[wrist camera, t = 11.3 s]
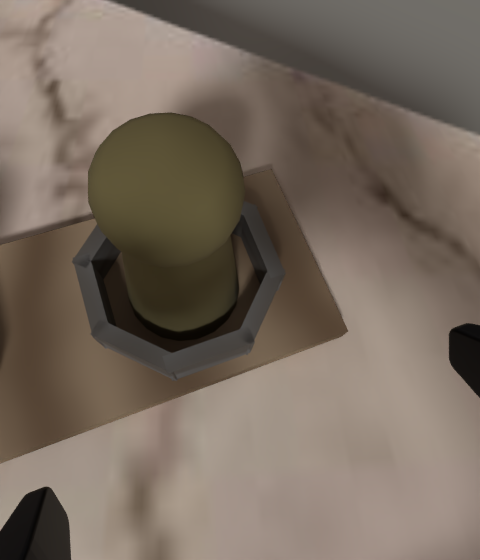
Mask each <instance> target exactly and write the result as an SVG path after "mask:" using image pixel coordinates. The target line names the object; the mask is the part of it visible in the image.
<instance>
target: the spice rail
mask: <svg viewBox="0 0 480 560" xmlns="http://www.w3.org/2000/svg"><path fill="white" fill-rule="evenodd" d="M243 179H244V185H245V197H244V202H243V207H242V211H241V216H240V221H239V222H238V224H237V225H236V227H235V228H234V230H233V232H232V233H231V235H230V236H231V242H232V247H233V253H234V258H235V264H236V270H237V276H238V283H239V294H238V299H237V304H236V307H235V308H234V310H233V312H232V313H231V315H230V317H229V319H228V320H227V321H226V322H225V323H224V324H223V325H222V326H220V327H219V328H218V329H217V330H216V331H215V332H213V333H210V334H208V335H206V336H204V337H201V338H199V339H194V340H185V341H177V340H172V339H167V338H162V337H160V336H158V335H157V334H155V333H153V332H151V331H150V330H148V329H146V328H145V326H144V325H143V324H142V323H141V322H140V321H139V320H138V319H137V317H136V316H135V314H134V312H133V309H132V307H131V304H130V302H129V298H128V291H127V284H126V277H125V271H124V264H123V257H122V252H121V251H120V250H119V249H117V248H116V247H115V246H114V245H113V244H112V243H111V242H110V240H109V239H108V238H107V237H106V236H105V235H104V234H103V233H102V232H101V230H100V228H99V226H98V224H97V223H96V220H95V219H91V220H88V221H84V222H80V223H77V224H73V225H70V226H66V227H63V228H59V229H55V230H52V231H48V232H45V233H41V234H38V235H34V236H30V237H27V238H23V239H20V240H16V241H12V242H9V243H5V244H2V245H0V463H3V462H5V461H8V460H11V459H13V458H16V457H19V456H21V455H24V454H27V453H30V452H32V451H35V450H38V449H40V448H43V447H46V446H48V445H51V444H54V443H56V442H59V441H62V440H64V439H67V438H70V437H73V436H75V435H78V434H81V433H83V432H86V431H89V430H91V429H94V428H97V427H99V426H102V425H105V424H107V423H110V422H113V421H116V420H118V419H121V418H124V417H126V416H129V415H132V414H134V413H137V412H140V411H142V410H145V409H148V408H150V407H153V406H156V405H159V404H161V403H164V402H167V401H169V400H172V399H175V398H177V397H180V396H183V395H185V394H188V393H191V392H193V391H196V390H199V389H202V388H204V387H207V386H210V385H212V384H215V383H218V382H220V381H223V380H226V379H228V378H231V377H234V376H236V375H239V374H242V373H245V372H247V371H250V370H253V369H255V368H258V367H261V366H263V365H266V364H269V363H271V362H274V361H277V360H279V359H282V358H285V357H288V356H290V355H293V354H296V353H298V352H301V351H304V350H306V349H309V348H312V347H314V346H317V345H320V344H322V343H325V342H328V341H330V340H333V339H336V338H339V337H341V336H343V335H344V334H345V333H346V332H348V330H347V327H346V325H345V323H344V321H343V319H342V317H341V315H340V313H339V311H338V308H337V306H336V304H335V302H334V300H333V298H332V296H331V294H330V292H329V289H328V287H327V285H326V283H325V281H324V279H323V277H322V275H321V273H320V270H319V268H318V266H317V264H316V262H315V260H314V258H313V256H312V254H311V251H310V249H309V247H308V245H307V243H306V241H305V239H304V237H303V235H302V232H301V230H300V228H299V226H298V224H297V222H296V220H295V218H294V215H293V213H292V211H291V209H290V207H289V205H288V203H287V201H286V199H285V196H284V194H283V192H282V190H281V188H280V186H279V184H278V182H277V180H276V177H275V175H274V173H273V171H272V169H270V170H266V171H263V172H259V173H256V174H252V175H249V176H245V177H243Z"/></svg>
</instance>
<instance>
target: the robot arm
mask: <svg viewBox="0 0 480 560" xmlns="http://www.w3.org/2000/svg"><path fill="white" fill-rule="evenodd" d="M449 360H450V363H451V365H452V367H453V368H454V369H455V371H456V372H457V373H458V374H459V375H460V376H461V377H462V378H463V380H464V381H465V382H466V383H467V384H468V385H469V386H470V387H471V389H472V390H473V391H474V392H475V393H476V394H477V395H478V396H479V398H480V325H475V324H470V323H466V324H463V325H460V326H457V327H455V328H453V329H451V331H450V333H449ZM0 560H71V549H70V530H69V520H68V517H67V514H66V512H65V510H64V508H63V507H62V505H61V503H60V502H59V500H58V498H57V497H56V495H55V493H54V492H53V490H52V489H51V488H50V487H43V488H40V489H38V490H35V491H32V492H30V493H28V494H26V495H25V496H24V497H23V499H22V500H21V502H20V503H19V504H18V506H17V507H16V509H15V510H14V512H13V513H12V515H11V516H10V518H9V519H8V520H7V522H6V523H5V525H4V526H3V528H2V529H1V531H0Z"/></svg>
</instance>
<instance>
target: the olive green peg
mask: <svg viewBox="0 0 480 560" xmlns="http://www.w3.org/2000/svg"><path fill="white" fill-rule="evenodd" d="M244 197H245V185H244V179H243V173H242V168H241V165H240V162H239V160H238V158H237V156H236V154H235V153H234V151H233V149H232V147H231V145H230V144H229V143H228V142H227V141H226V140H225V139H224V138H223V137H221V136H220V135H219V134H218V133H217V132H216V131H215V130H214V129H213V128H212V127H210V126H209V125H207V124H205V123H203V122H201V121H199V120H197V119H195V118H193V117H191V116H186V115H180V114H175V113H154V114H147V115H144V116H141V117H138V118H134V119H131V120H129V121H127V122H126V123H124V124H123V125H121V126H119V127H118V128H116V129H115V130H113V131H112V132H111V133H110V134H109V136H108V137H107V138H106V139H105V140H104V141H103V143H102V144H101V145H100V146H99V148H98V150H97V151H96V153H95V156H94V158H93V161H92V163H91V166H90V168H89V171H88V202H89V205H90V208H91V210H92V213H93V215H94V218H95V220H96V223H97V224H98V226H99V228H100V230H101V232H102V233H103V234H104V235H105V236H106V237H107V238H108V239H109V240H110V242H111V243H112V244H113V245H114V246H115V247H116V248H117V249H119V250H120V251H121V252H122V257H123V264H124V271H125V277H126V284H127V291H128V298H129V302H130V304H131V307H132V309H133V312H134V314H135V316H136V317H137V319H138V320H139V321H140V322H141V323H142V324H143V325H144V326H145V328H146V329H148V330H150V331H151V332H153V333H155V334H157V335H158V336H160V337H162V338H167V339H172V340H177V341H185V340H194V339H199V338H201V337H204V336H206V335H208V334H210V333H213V332H215V331H216V330H217V329H218V328H219V327H220V326H222V325H223V324H224V323H225V322H226V321H227V320H228V319H229V317H230V315H231V313H232V312H233V310H234V308H235V307H236V304H237V299H238V294H239V283H238V276H237V270H236V264H235V258H234V253H233V247H232V242H231V236H230V235H231V233H232V232H233V230H234V228H235V227H236V225H237V224H238V222H239V221H240V216H241V211H242V207H243V202H244Z"/></svg>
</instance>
